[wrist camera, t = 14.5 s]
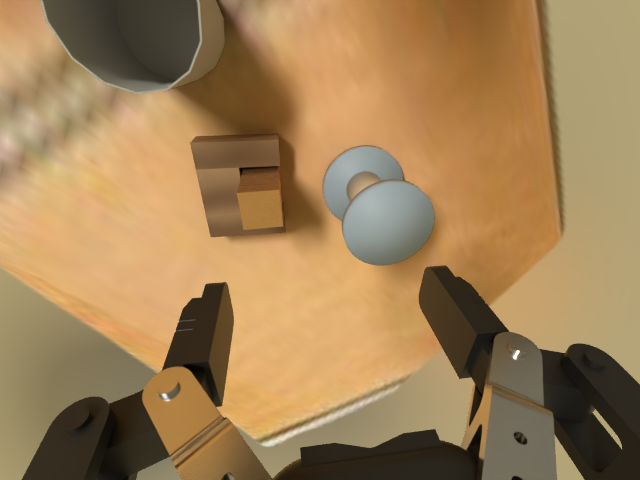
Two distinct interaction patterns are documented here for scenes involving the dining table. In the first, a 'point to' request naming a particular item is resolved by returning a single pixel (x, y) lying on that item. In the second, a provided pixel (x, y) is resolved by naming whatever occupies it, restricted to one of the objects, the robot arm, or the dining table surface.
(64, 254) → the dining table surface
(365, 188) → the bobbin
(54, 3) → the cup
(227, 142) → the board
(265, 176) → the block
